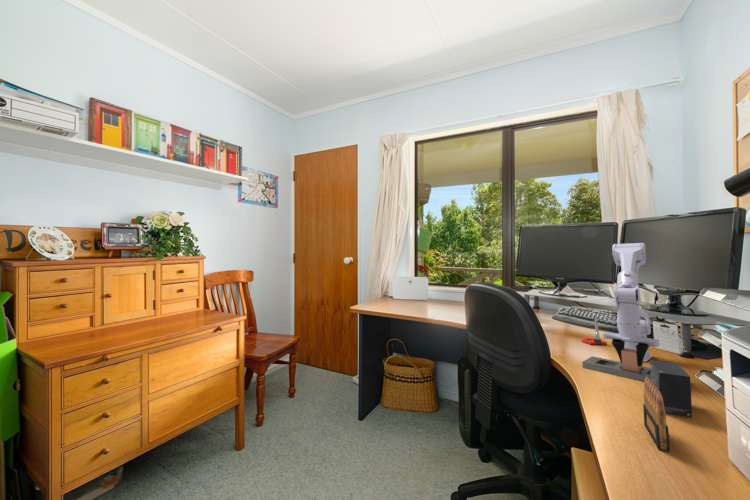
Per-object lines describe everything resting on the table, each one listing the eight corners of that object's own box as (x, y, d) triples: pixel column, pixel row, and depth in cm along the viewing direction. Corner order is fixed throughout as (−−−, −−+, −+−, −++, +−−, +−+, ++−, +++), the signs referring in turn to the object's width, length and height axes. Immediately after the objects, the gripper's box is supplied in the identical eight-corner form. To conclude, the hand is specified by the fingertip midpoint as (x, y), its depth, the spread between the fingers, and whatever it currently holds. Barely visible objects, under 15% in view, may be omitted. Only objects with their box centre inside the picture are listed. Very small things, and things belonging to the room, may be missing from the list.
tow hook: (578, 340, 146) (588, 345, 137) (576, 313, 147) (586, 315, 138) (597, 340, 145) (609, 345, 136) (595, 312, 146) (607, 315, 137)
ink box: (658, 347, 130) (657, 320, 131) (685, 354, 121) (683, 324, 121) (653, 348, 130) (651, 320, 130) (679, 354, 121) (677, 325, 121)
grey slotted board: (592, 361, 117) (592, 356, 117) (689, 382, 96) (688, 375, 96) (582, 367, 112) (582, 361, 112) (683, 390, 91) (682, 383, 91)
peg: (626, 368, 107) (625, 348, 107) (641, 371, 104) (639, 350, 104) (622, 371, 104) (621, 350, 105) (637, 374, 101) (636, 353, 101)
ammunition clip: (644, 424, 74) (640, 374, 75) (654, 426, 74) (650, 375, 74) (658, 449, 65) (654, 392, 65) (670, 452, 64) (666, 393, 64)
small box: (695, 419, 76) (692, 376, 76) (659, 413, 79) (657, 371, 79) (681, 401, 85) (679, 362, 85) (650, 396, 88) (648, 359, 88)
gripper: (599, 322, 108) (601, 361, 108) (654, 328, 96) (656, 372, 96) (606, 318, 112) (608, 356, 112) (659, 324, 100) (662, 367, 100)
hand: (631, 363), depth 104 cm, fingers closed on peg, 4 cm apart
